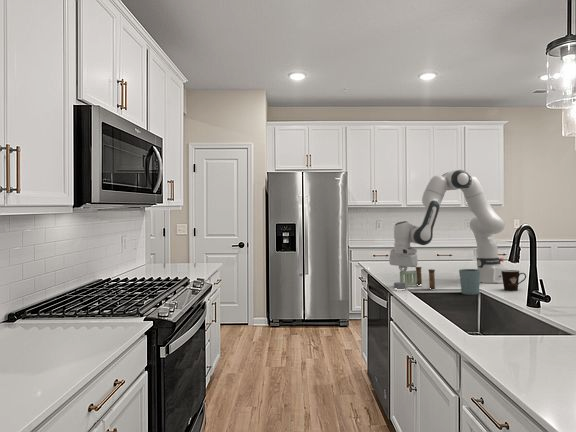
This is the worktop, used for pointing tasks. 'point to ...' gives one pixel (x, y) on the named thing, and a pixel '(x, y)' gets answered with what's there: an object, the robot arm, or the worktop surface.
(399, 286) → the rubber block
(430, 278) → the post
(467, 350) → the worktop surface
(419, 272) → the hinge post
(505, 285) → the coffee mug
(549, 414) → the worktop surface
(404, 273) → the block
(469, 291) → the teal cup
